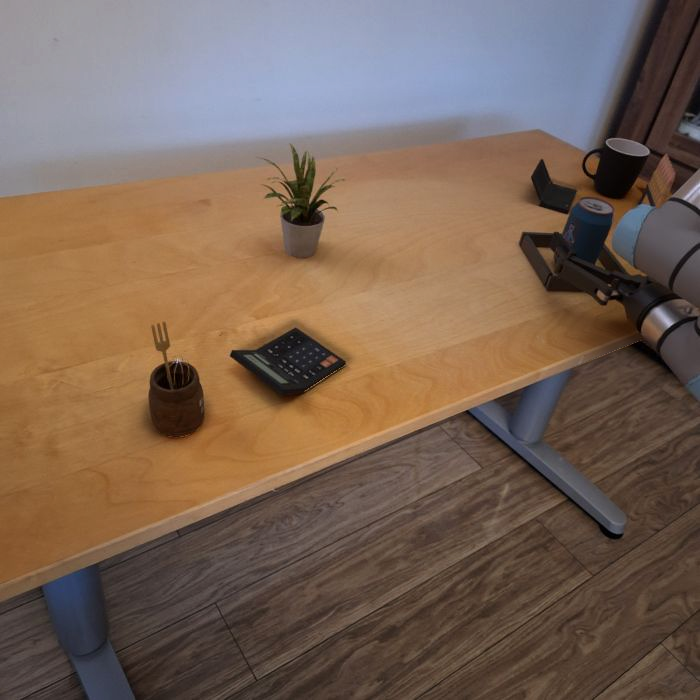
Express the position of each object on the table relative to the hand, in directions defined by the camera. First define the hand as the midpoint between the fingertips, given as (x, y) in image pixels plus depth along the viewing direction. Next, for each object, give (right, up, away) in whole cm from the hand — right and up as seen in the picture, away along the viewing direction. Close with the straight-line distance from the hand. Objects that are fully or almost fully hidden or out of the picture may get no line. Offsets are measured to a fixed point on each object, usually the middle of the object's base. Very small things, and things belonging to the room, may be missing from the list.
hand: (590, 238), depth 102 cm
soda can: (-1, -4, +6) cm, 7 cm away
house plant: (-49, -1, +1) cm, 49 cm away
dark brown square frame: (-1, -4, +6) cm, 7 cm away
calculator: (-48, -21, -22) cm, 56 cm away
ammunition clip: (+20, +8, +24) cm, 33 cm away
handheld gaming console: (+2, +13, +27) cm, 30 cm away
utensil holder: (-59, -27, -30) cm, 72 cm away
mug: (+15, +16, +33) cm, 40 cm away
